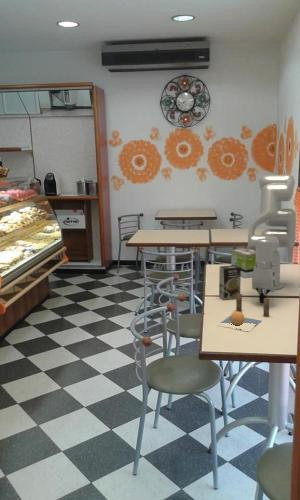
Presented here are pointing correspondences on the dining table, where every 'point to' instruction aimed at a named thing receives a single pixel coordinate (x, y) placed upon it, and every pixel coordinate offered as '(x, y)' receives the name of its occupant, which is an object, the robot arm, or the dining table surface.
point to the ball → (237, 318)
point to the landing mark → (247, 320)
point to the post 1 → (239, 302)
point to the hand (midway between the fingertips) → (262, 302)
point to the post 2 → (266, 307)
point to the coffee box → (229, 281)
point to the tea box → (244, 261)
